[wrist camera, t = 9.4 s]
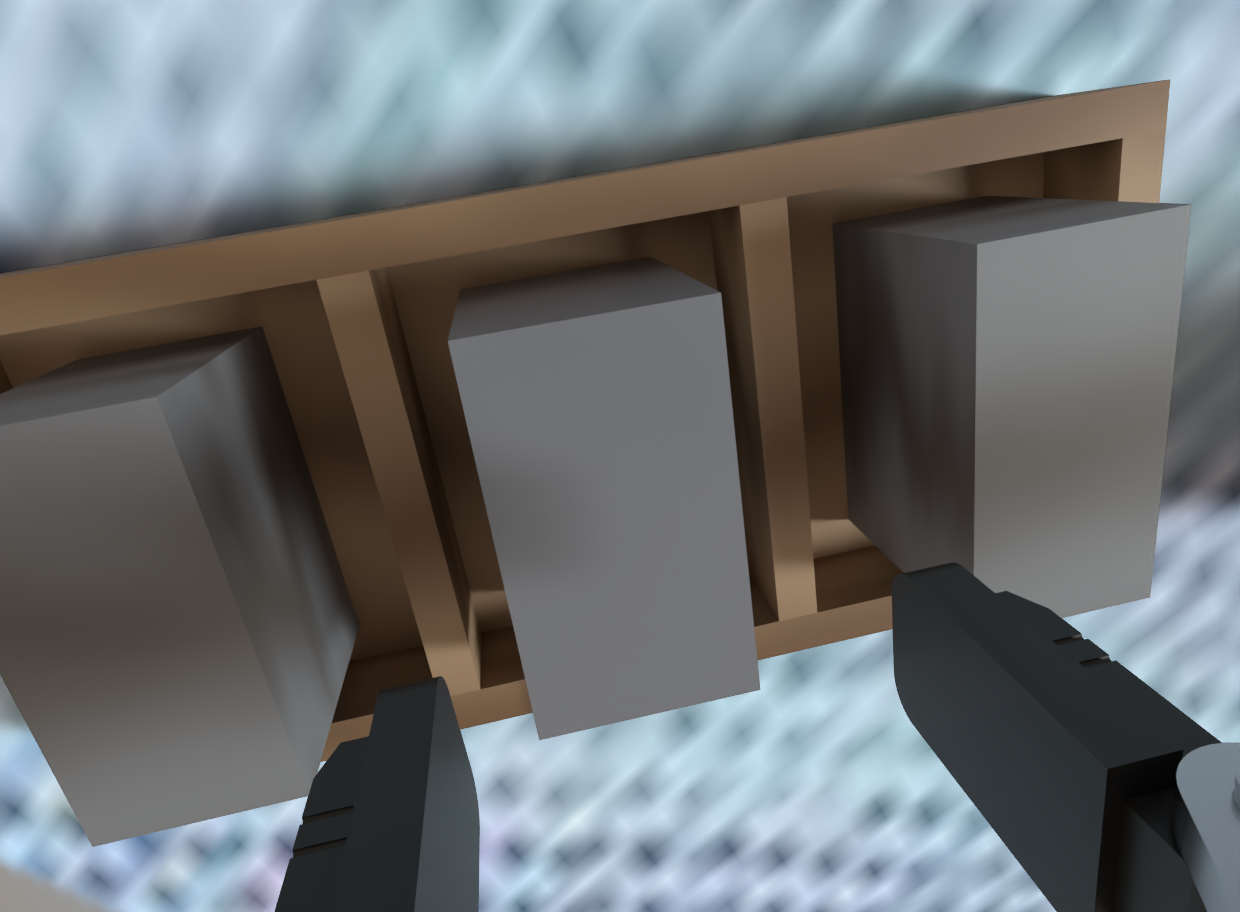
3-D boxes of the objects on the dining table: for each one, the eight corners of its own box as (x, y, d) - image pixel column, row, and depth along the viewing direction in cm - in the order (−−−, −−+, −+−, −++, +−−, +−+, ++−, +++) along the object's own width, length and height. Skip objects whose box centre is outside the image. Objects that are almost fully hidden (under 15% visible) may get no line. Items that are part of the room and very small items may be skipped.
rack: (-56, 282, 17) (-389, 349, 11) (1057, 95, 20) (1339, 56, 13) (151, 727, 22) (5, 966, 15) (1038, 529, 24) (1242, 660, 18)
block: (460, 288, 18) (447, 340, 12) (650, 256, 18) (721, 292, 13) (525, 588, 21) (539, 739, 15) (688, 554, 21) (760, 689, 16)
